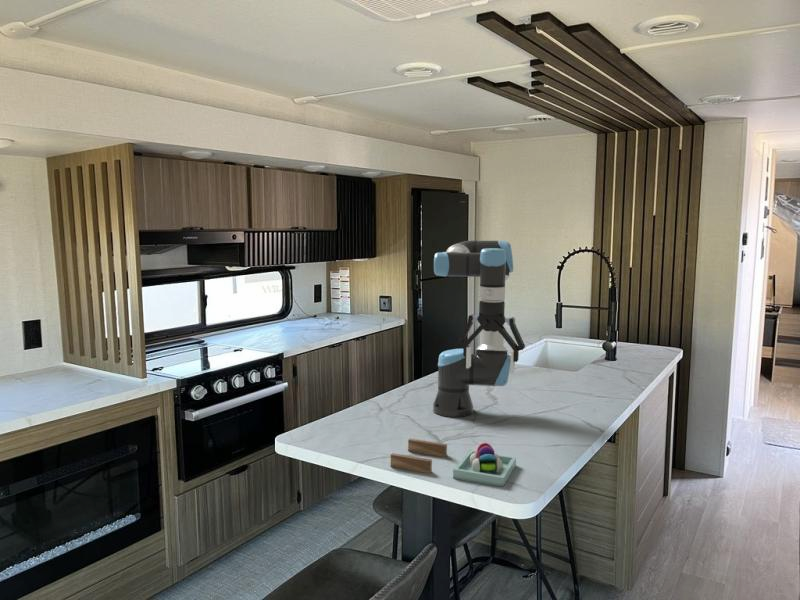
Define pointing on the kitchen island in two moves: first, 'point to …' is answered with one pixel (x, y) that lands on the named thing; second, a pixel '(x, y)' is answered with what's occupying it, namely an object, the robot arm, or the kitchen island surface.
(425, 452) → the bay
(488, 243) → the robot arm
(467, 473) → the tray
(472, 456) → the rainbow disc toy
